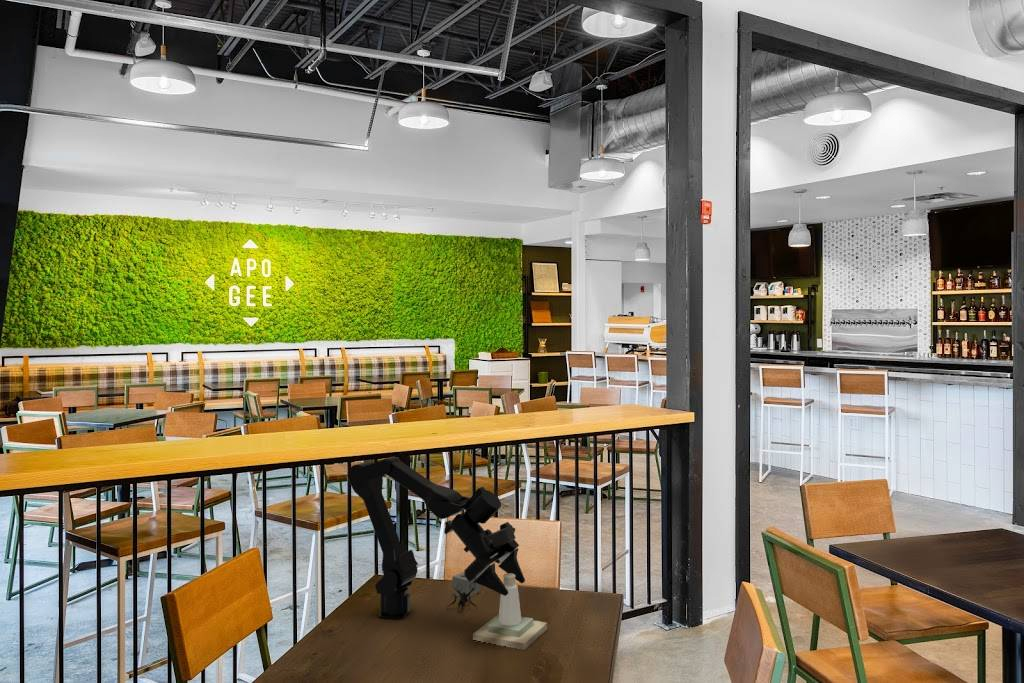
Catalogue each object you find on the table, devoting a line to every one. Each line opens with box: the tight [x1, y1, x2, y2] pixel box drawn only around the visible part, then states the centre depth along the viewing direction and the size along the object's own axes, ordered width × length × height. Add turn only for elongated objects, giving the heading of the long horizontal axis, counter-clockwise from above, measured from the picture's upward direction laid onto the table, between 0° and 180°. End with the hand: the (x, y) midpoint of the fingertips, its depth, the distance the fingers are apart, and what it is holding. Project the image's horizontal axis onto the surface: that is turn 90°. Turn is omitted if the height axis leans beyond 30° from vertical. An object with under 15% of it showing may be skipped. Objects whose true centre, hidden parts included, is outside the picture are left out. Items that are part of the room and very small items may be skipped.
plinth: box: [472, 614, 548, 651], centre depth 174 cm, size 13×13×3 cm
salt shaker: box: [498, 572, 522, 626], centre depth 174 cm, size 5×5×11 cm
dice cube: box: [452, 572, 480, 596], centre depth 202 cm, size 5×5×5 cm
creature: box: [446, 586, 478, 614], centre depth 191 cm, size 8×5×8 cm
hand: (515, 588), depth 174 cm, fingers open, 9 cm apart
